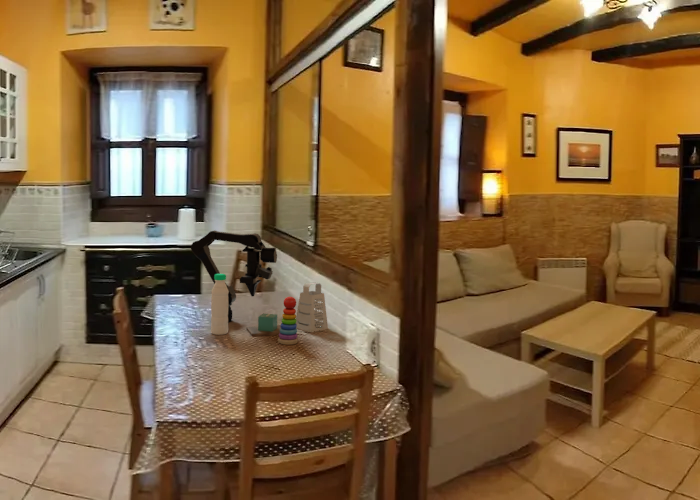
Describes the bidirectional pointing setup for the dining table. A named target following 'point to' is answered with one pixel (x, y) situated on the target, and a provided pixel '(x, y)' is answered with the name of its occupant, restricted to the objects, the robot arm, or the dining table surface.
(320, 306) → the grater
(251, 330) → the keyed post base
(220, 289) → the water bottle
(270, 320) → the teal drawer cube
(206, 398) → the dining table surface
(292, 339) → the stacking toy
